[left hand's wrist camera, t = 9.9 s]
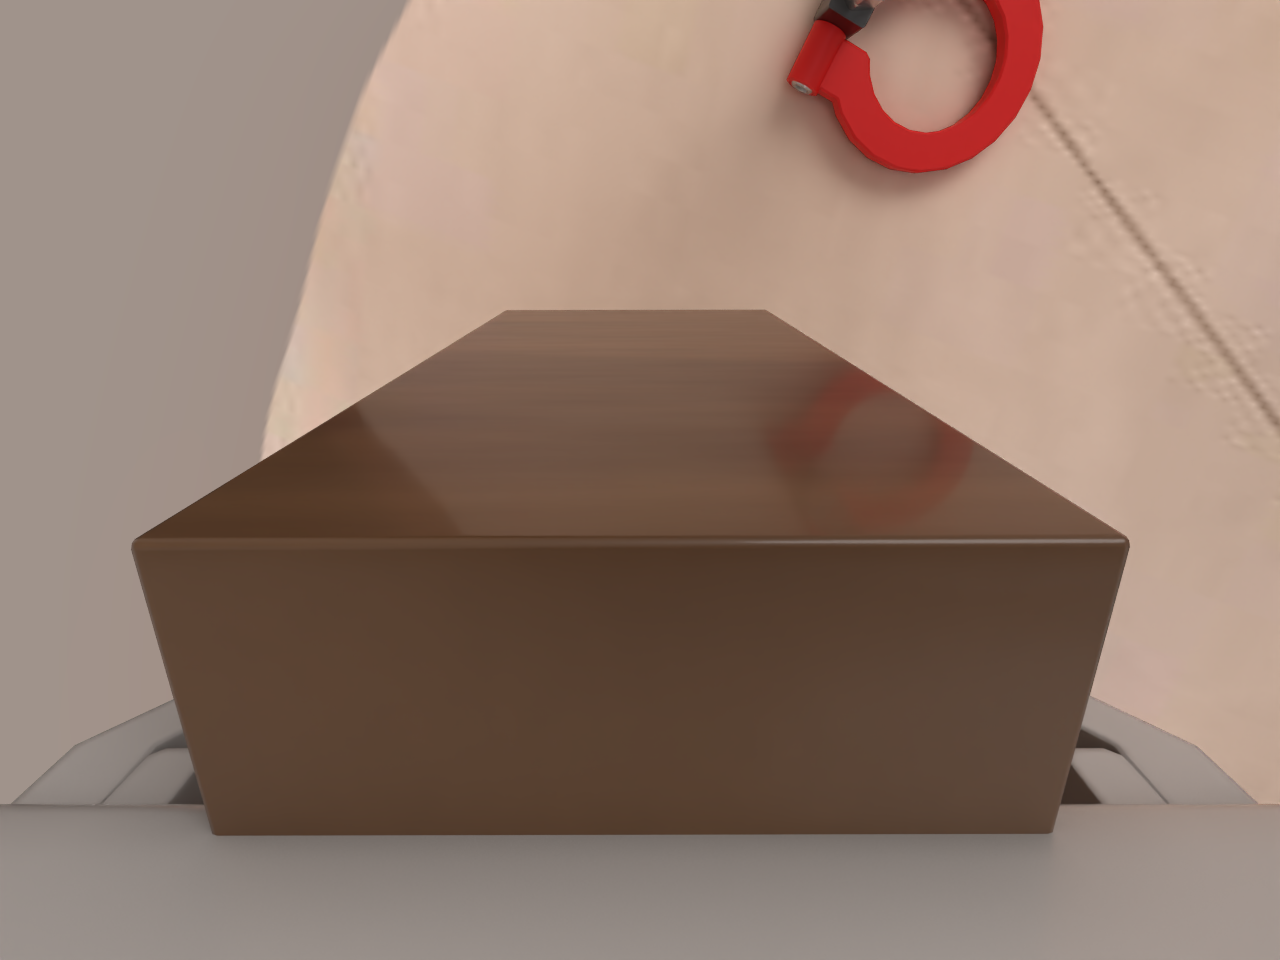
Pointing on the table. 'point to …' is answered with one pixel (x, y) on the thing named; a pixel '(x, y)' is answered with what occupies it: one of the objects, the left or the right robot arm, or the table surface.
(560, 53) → the table surface
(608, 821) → the box
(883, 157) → the tow hook
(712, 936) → the left robot arm
